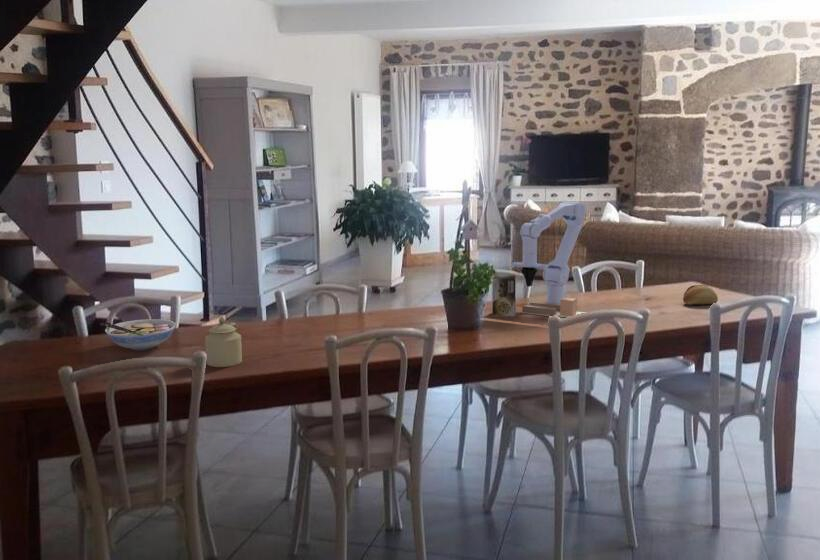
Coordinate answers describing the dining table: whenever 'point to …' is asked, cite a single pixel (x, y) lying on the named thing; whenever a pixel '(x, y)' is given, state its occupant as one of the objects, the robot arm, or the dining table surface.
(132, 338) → the ramen bowl
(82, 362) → the dining table surface
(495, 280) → the coffee box
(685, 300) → the bread roll
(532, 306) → the chute board
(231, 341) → the sugar bowl
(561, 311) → the block
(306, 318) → the dining table surface
